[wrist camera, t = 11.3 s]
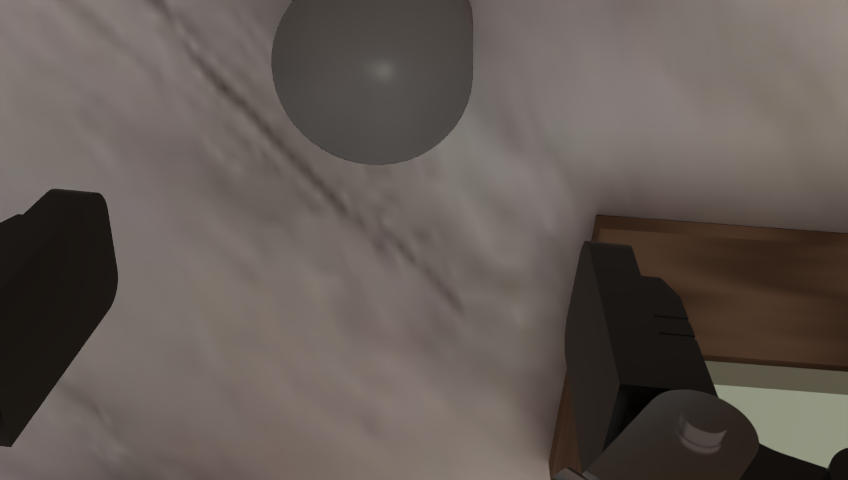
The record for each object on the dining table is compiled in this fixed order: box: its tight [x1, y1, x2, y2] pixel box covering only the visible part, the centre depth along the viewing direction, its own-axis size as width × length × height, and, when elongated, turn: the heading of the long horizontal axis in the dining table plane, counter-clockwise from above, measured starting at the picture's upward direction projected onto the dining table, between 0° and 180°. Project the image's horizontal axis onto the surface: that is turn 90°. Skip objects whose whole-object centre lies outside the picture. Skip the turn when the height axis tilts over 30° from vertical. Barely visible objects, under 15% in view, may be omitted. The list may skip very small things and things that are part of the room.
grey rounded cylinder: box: [272, 0, 473, 165], centre depth 24 cm, size 6×6×5 cm
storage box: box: [549, 215, 848, 479], centre depth 28 cm, size 14×13×8 cm
